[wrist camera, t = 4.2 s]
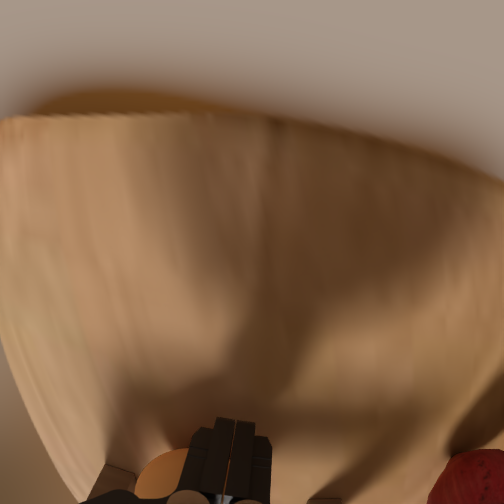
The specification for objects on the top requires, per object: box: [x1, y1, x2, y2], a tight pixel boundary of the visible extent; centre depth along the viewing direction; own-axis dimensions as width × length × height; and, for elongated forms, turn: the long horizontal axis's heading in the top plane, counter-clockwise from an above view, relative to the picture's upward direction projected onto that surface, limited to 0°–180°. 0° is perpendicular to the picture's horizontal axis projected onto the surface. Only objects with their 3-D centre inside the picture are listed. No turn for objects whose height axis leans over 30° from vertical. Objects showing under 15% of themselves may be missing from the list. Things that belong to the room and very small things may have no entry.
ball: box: [134, 448, 230, 504], centre depth 11 cm, size 6×6×6 cm
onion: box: [427, 449, 504, 504], centre depth 9 cm, size 6×6×8 cm
